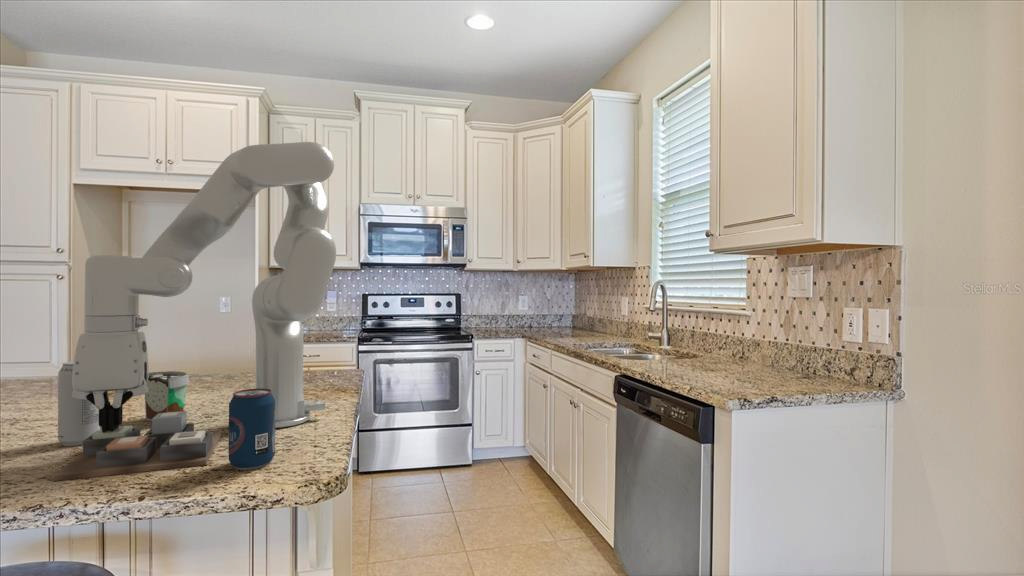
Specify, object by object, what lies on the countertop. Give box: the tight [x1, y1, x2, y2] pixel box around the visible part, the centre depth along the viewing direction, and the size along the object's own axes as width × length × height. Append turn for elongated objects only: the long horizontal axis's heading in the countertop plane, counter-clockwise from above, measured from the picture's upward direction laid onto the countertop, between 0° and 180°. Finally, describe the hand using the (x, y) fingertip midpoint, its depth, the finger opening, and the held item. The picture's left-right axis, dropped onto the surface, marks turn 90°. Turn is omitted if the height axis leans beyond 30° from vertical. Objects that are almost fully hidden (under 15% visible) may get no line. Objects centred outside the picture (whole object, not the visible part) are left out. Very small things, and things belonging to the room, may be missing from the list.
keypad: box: [52, 422, 223, 482], centre depth 89 cm, size 20×18×3 cm
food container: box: [144, 370, 191, 422], centre depth 112 cm, size 12×6×10 cm, turn 58°
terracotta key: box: [106, 435, 148, 451], centre depth 85 cm, size 4×4×3 cm
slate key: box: [151, 410, 188, 434], centre depth 94 cm, size 4×4×3 cm
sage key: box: [92, 425, 133, 439], centre depth 90 cm, size 4×4×3 cm
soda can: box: [228, 388, 276, 471], centre depth 85 cm, size 7×7×12 cm
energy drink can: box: [57, 360, 101, 447], centre depth 96 cm, size 6×6×15 cm
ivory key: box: [169, 429, 206, 445], centre depth 88 cm, size 4×4×3 cm
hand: (110, 429), depth 90 cm, fingers closed
